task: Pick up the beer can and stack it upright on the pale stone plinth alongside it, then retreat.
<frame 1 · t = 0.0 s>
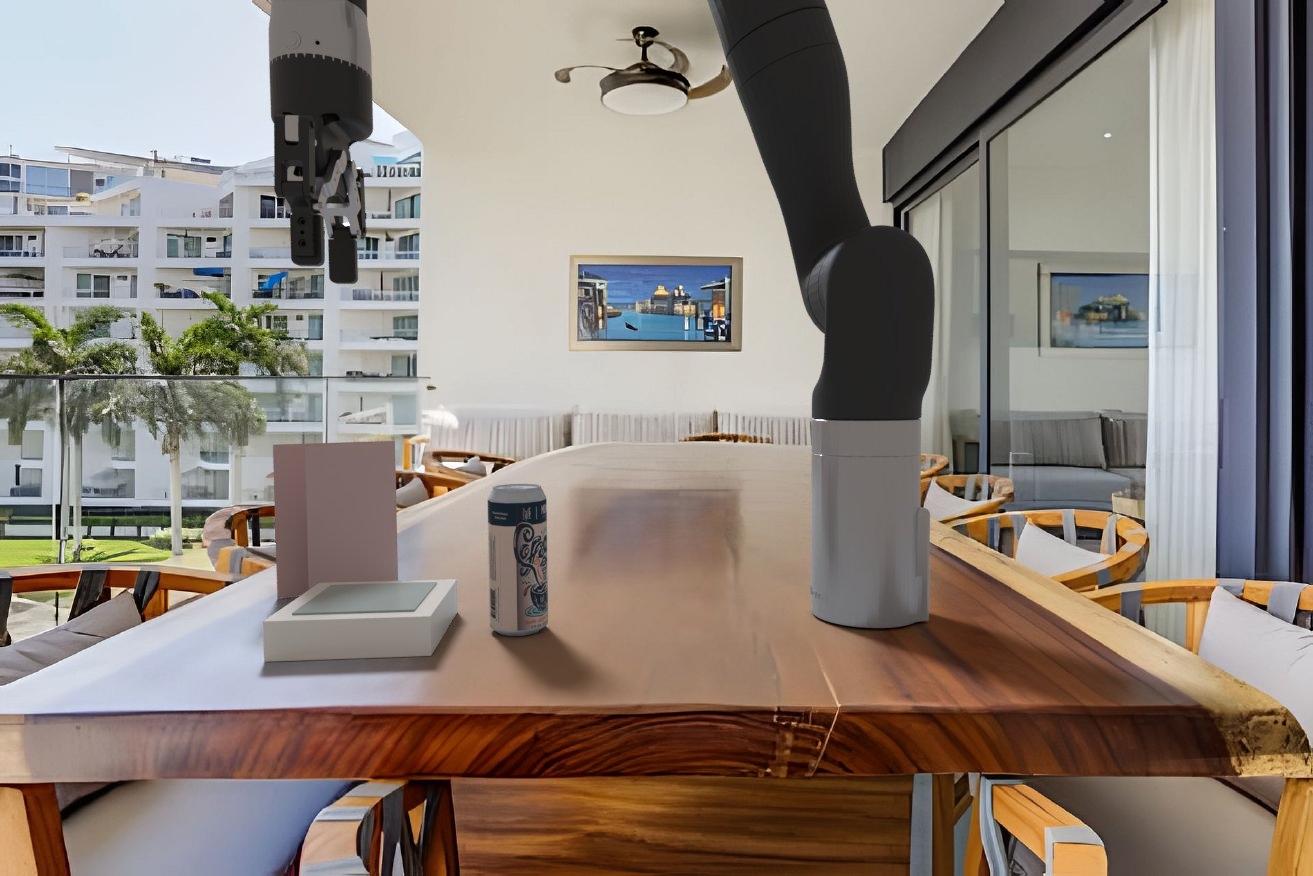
hand: (327, 275, 62), 29 cm above the table, fingers open, 8 cm apart
greeting card: (344, 598, 75), on the table
beer can: (519, 632, 64), on the table
plinth: (370, 634, 63), on the table
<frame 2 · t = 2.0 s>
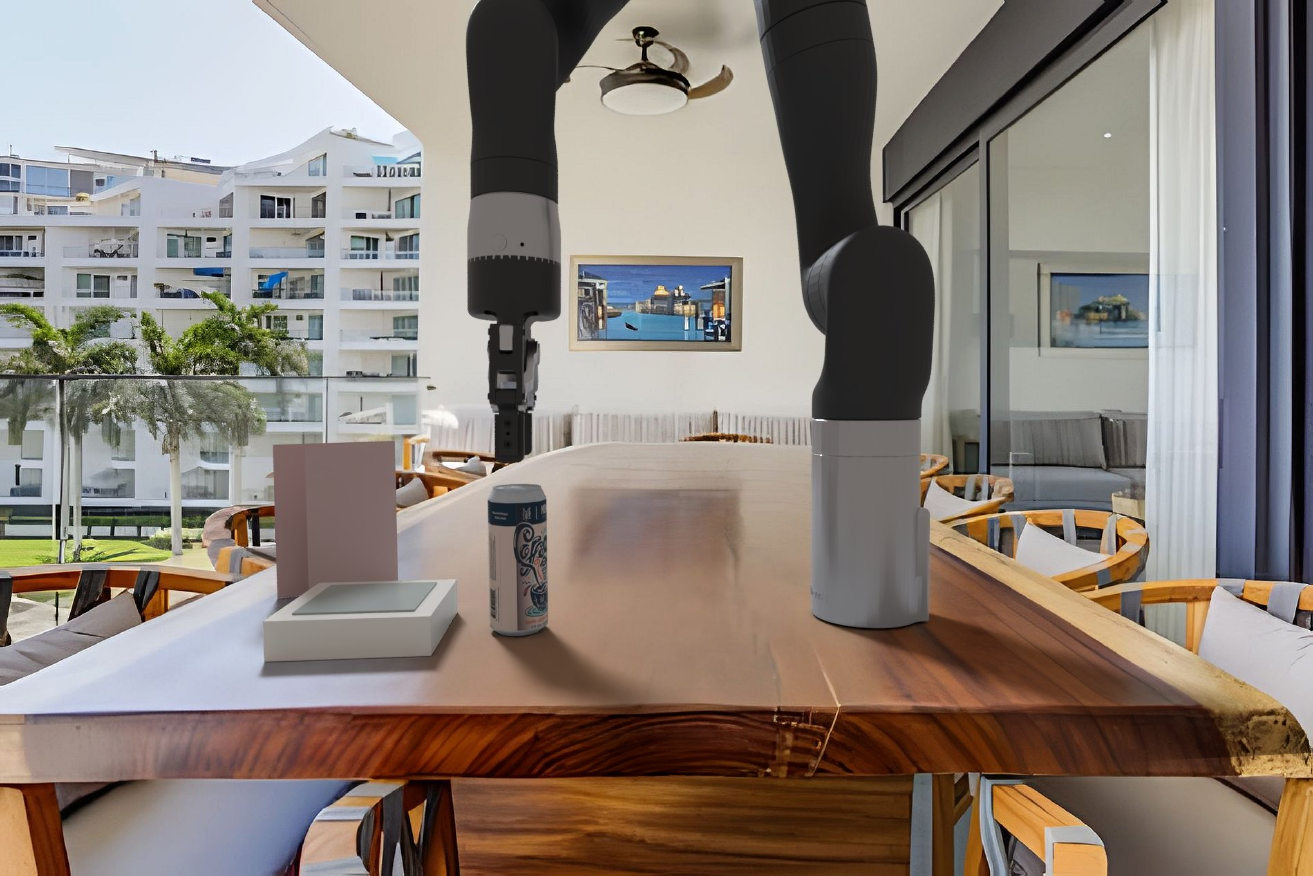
hand: (514, 458, 63), 14 cm above the table, fingers open, 8 cm apart
nothing on the table moved.
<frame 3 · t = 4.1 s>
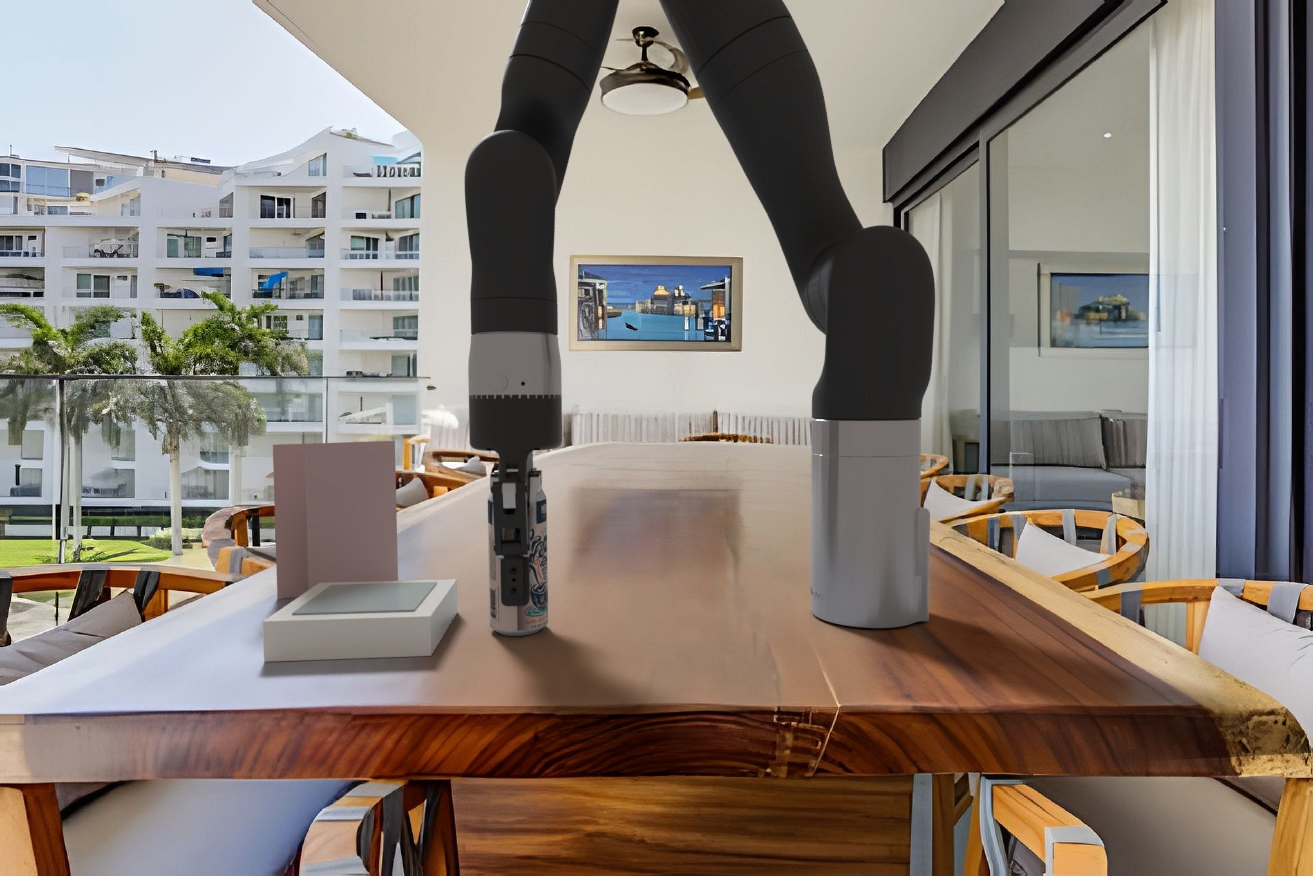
hand: (518, 595, 64), 3 cm above the table, fingers closed on beer can, 4 cm apart
beer can: (519, 632, 64), on the table, touching gripper
everything else where it was.
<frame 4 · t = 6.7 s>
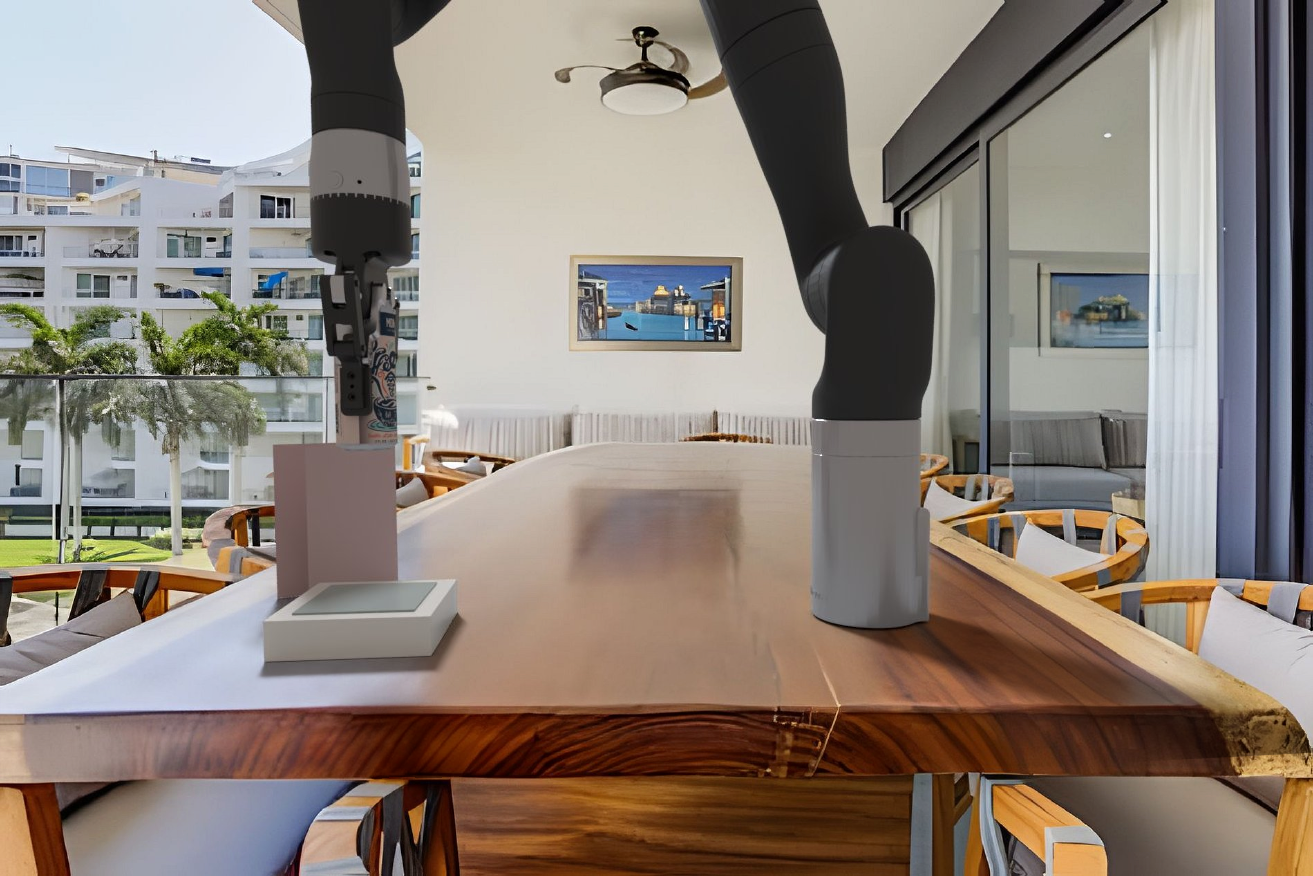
hand: (366, 414, 62), 18 cm above the table, fingers closed on beer can, 4 cm apart
beer can: (367, 452, 62), point 15 cm above the table, touching gripper
everything else where it was.
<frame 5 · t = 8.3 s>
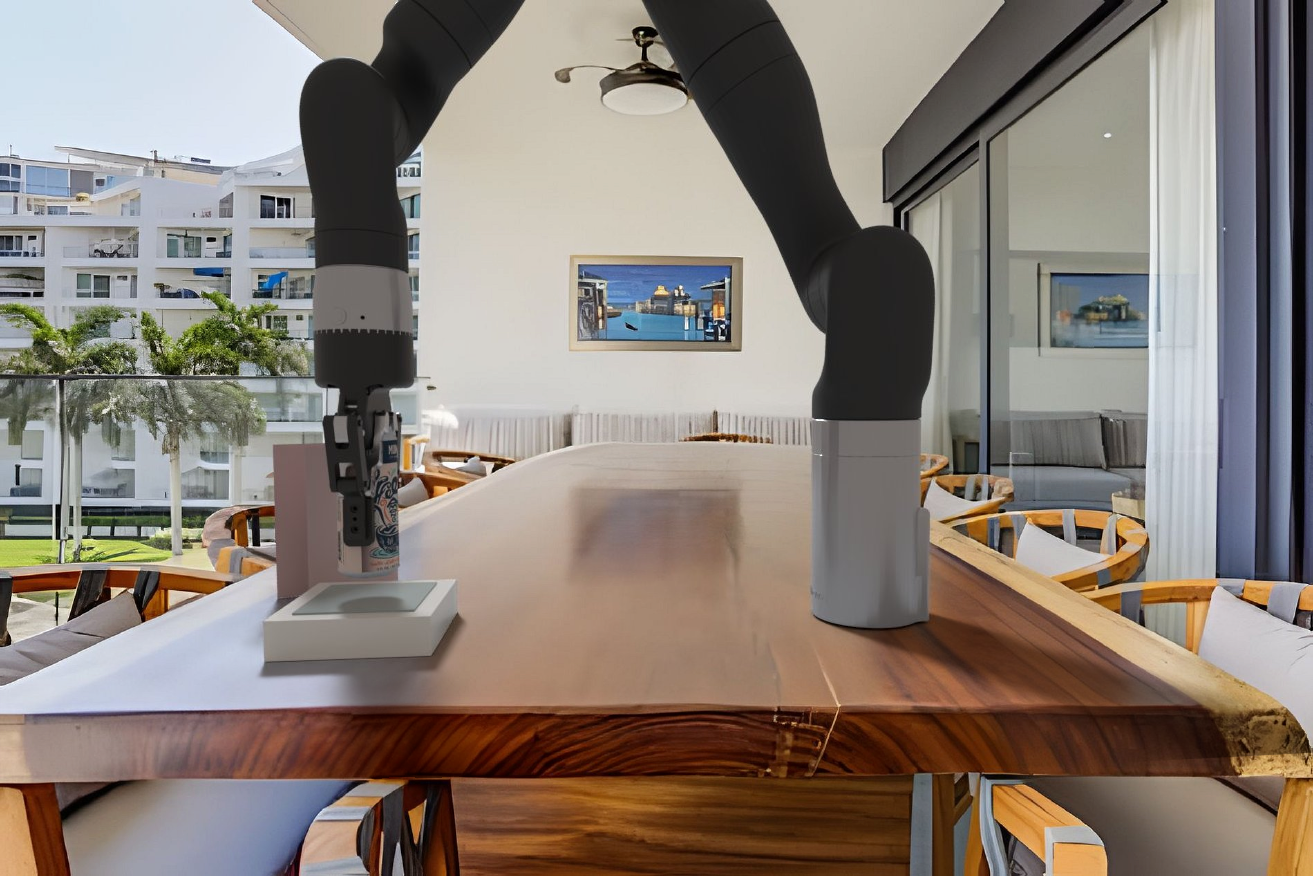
hand: (369, 538, 63), 8 cm above the table, fingers closed on beer can, 4 cm apart
beer can: (369, 576, 63), point 5 cm above the table, touching gripper
everything else where it was.
when the fingers open (7 cm above the table, at t = 9.4 s): beer can stays where it is, resting on plinth.
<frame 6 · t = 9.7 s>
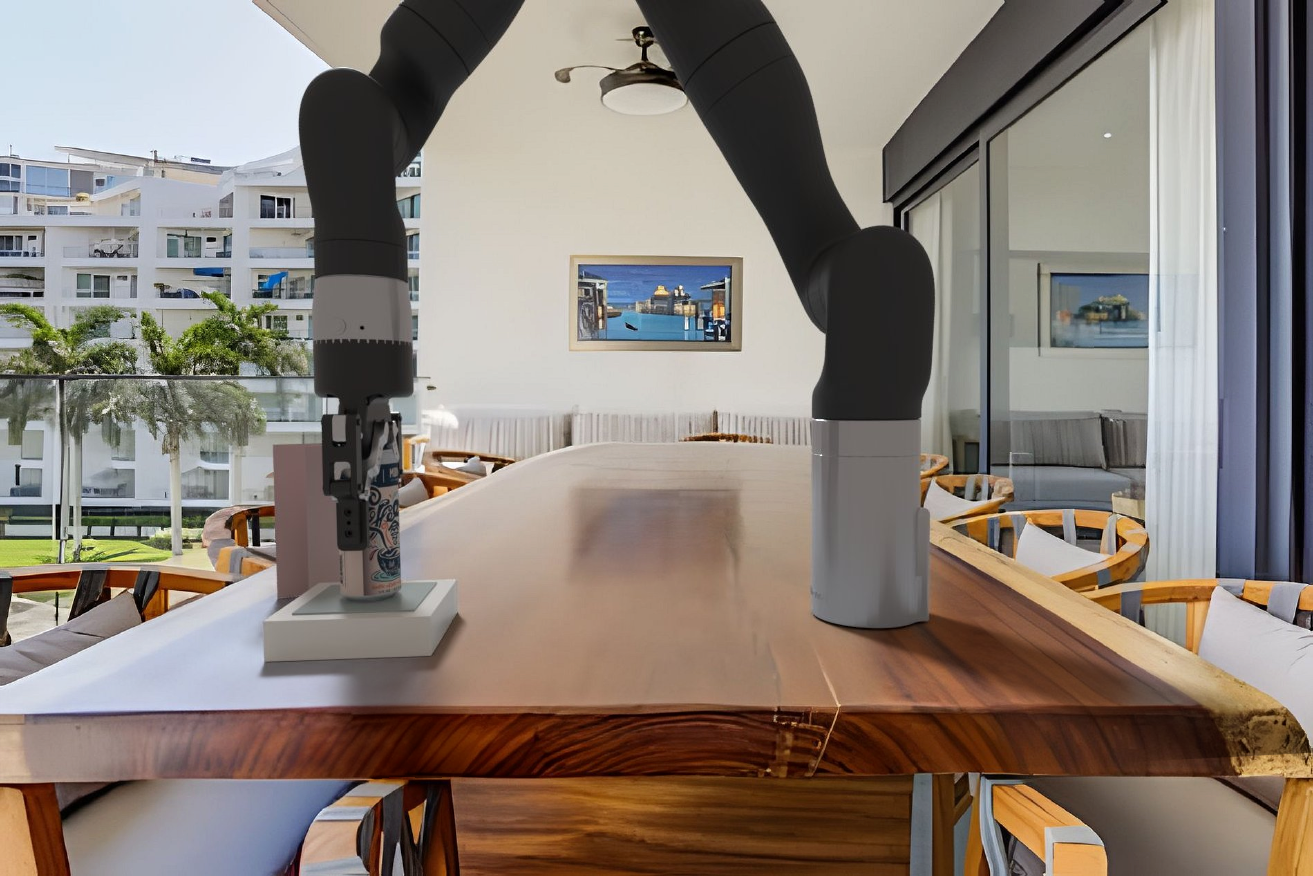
hand: (368, 540, 63), 8 cm above the table, fingers open, 7 cm apart
beer can: (371, 598, 63), point 3 cm above the table, touching plinth
everything else where it was.
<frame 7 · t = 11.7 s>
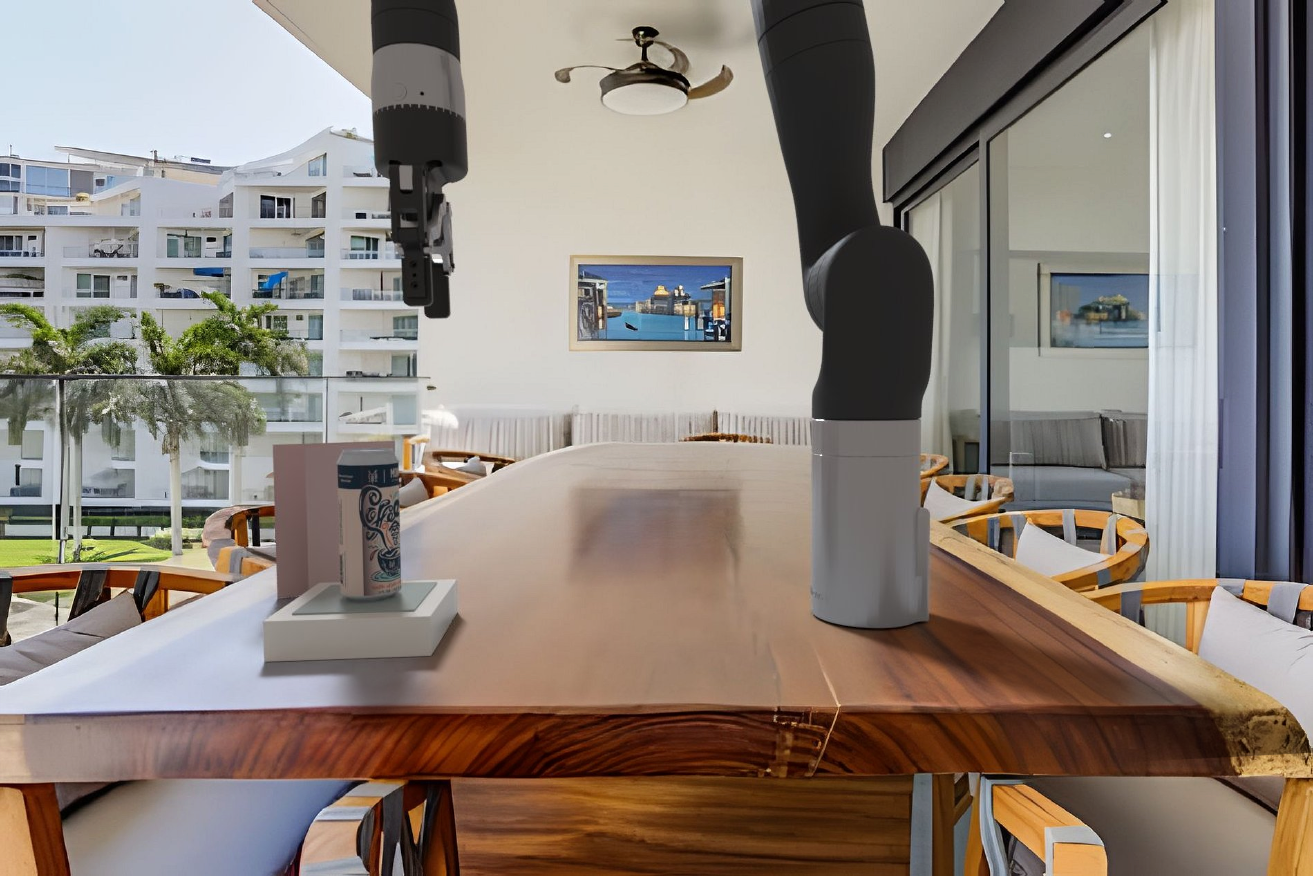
hand: (428, 312, 65), 27 cm above the table, fingers open, 8 cm apart
nothing on the table moved.
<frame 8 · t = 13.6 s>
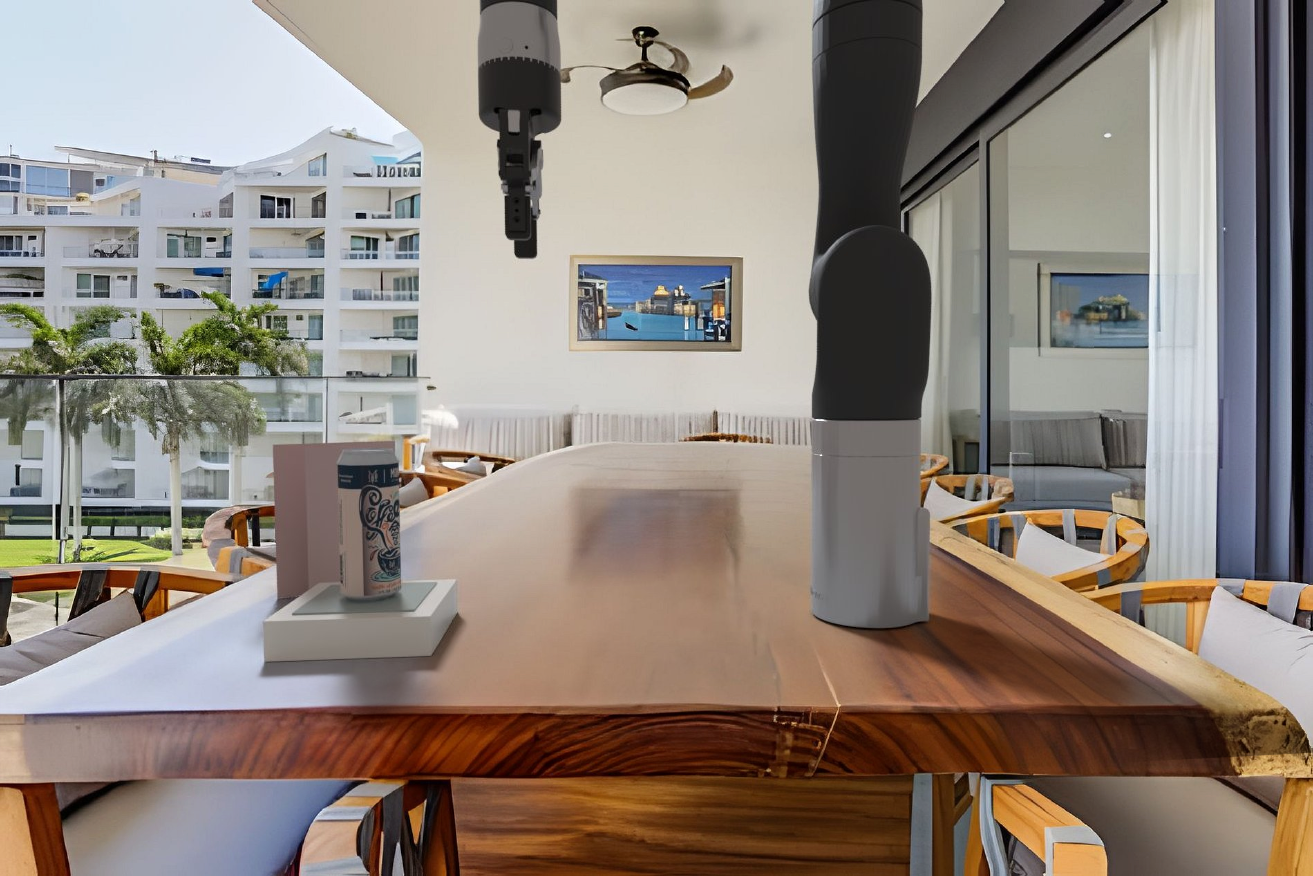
hand: (522, 249, 71), 33 cm above the table, fingers open, 8 cm apart
nothing on the table moved.
at the end: beer can inside the target area on the plinth (0.1 cm from its centre), point 3.0 cm above the plinth's base; beer can tilted 0°; the gripper is holding nothing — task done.
